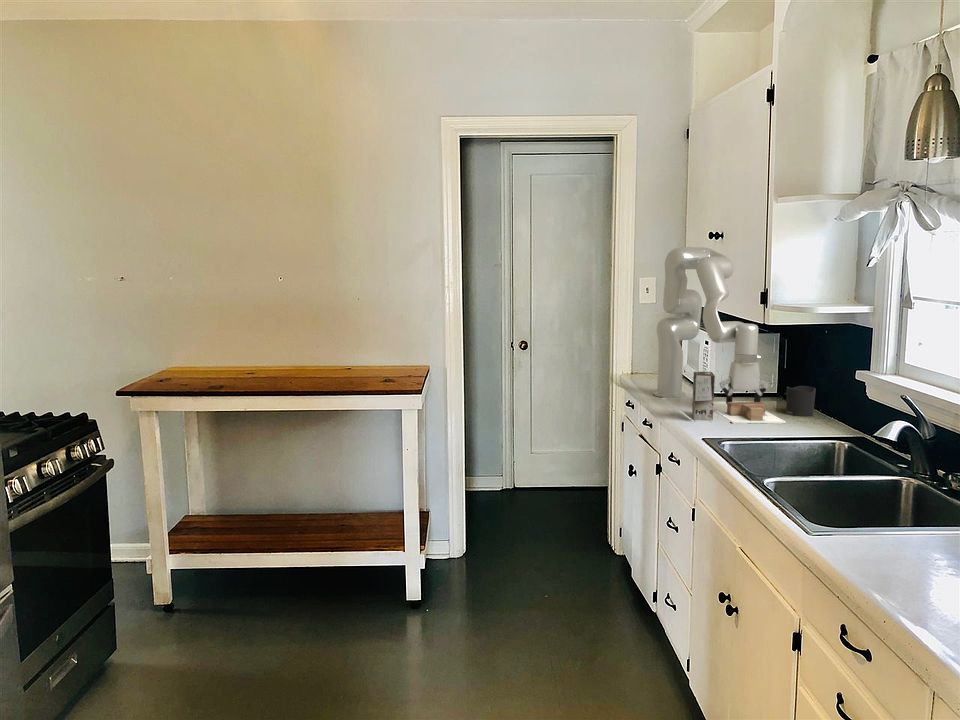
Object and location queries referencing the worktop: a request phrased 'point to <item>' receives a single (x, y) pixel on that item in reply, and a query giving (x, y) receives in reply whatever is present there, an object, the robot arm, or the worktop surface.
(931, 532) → the worktop surface
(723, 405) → the board
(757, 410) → the t block
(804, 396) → the pen holder
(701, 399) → the coffee box
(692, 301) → the robot arm
